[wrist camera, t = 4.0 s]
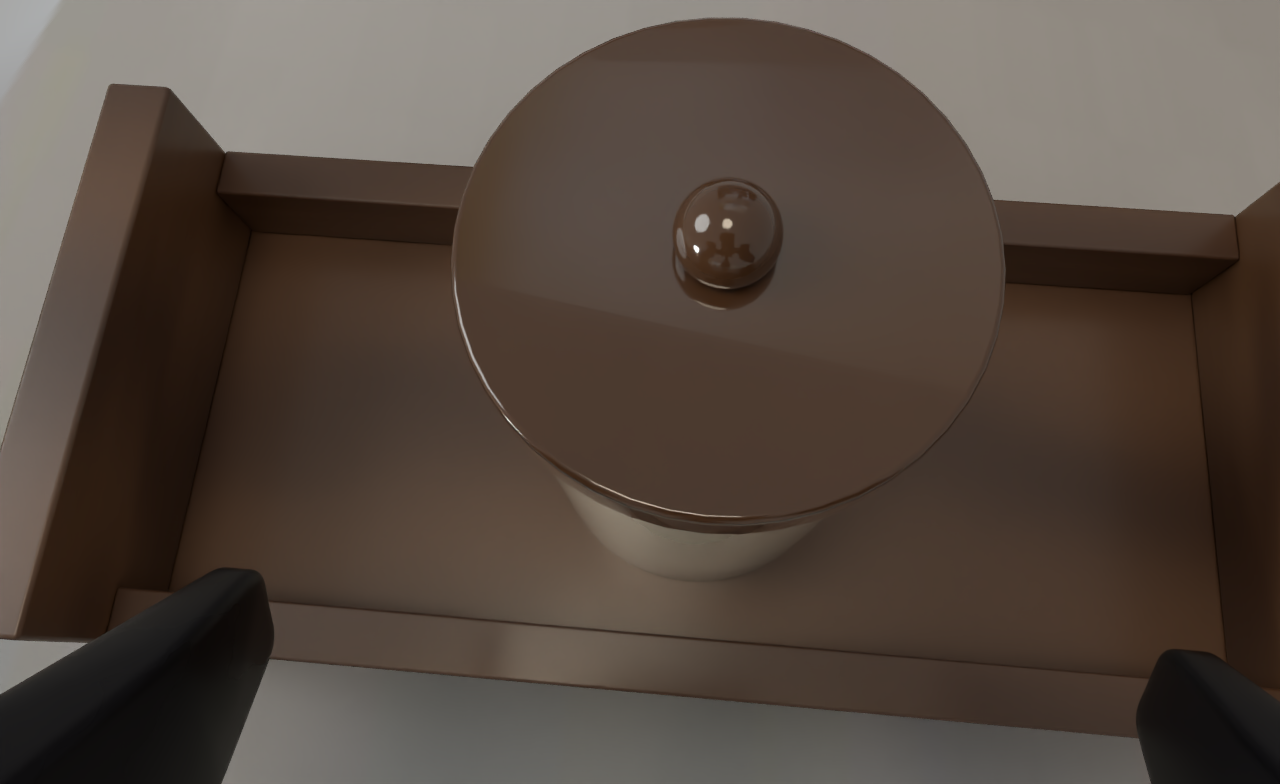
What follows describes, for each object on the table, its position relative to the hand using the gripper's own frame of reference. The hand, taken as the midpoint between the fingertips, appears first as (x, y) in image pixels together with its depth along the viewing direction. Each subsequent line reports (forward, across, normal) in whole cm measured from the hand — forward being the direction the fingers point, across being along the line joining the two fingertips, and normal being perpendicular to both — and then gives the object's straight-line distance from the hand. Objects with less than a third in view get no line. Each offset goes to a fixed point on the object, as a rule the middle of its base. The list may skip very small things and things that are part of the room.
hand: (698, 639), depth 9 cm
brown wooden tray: (+11, 0, +5) cm, 12 cm away
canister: (+9, 0, +3) cm, 10 cm away
